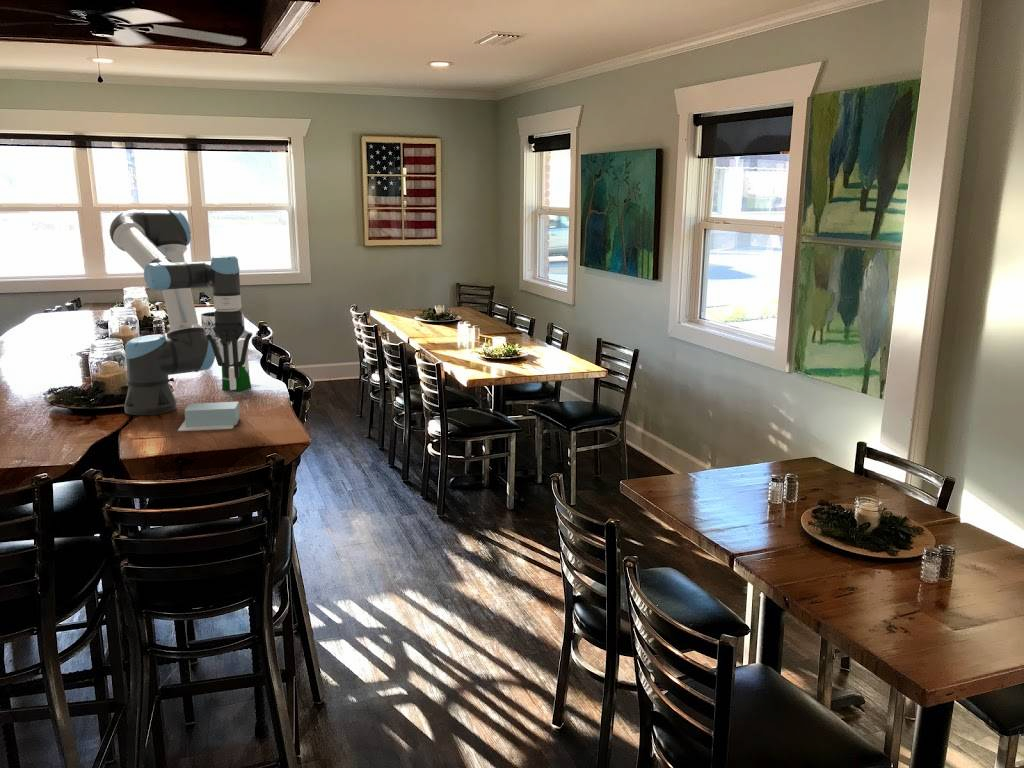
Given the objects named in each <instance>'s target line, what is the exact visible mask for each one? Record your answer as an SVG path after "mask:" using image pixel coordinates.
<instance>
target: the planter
mask: <svg viewBox="0 0 1024 768" xmlns="http://www.w3.org/2000/svg"><path fill="white" fill-rule="evenodd" d="M214 312H215V311H212V312H210V311H208V312H203V313H201V314H200V320H201V326H202V327H203V328H204V330H205V334H208V333H211V332H213V331H214V327H215V314H214ZM242 324H243V326H244V328H245V316H244V312H242ZM245 329H246V328H245ZM215 335H216V334H215ZM243 336H244V334H243V333H242V335H241V336H240V338H244V337H243ZM215 340H216V342H217V345H218V341H217V340H220V338H219V337H218V336H217V335H216V338H215ZM218 348H219V345H218ZM219 351H220V348H219Z"/></svg>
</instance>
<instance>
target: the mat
mask: <svg viewBox="0 0 1024 768" xmlns="http://www.w3.org/2000/svg"><path fill="white" fill-rule="evenodd" d="M234 427H235V425H227V426H205V427H186V423H185V420H183V422H182V423H181V424H180V427H179V428H178V430H177V432H189V431H211V430H212V431H215V430H230V429H231V430H232V429H234Z"/></svg>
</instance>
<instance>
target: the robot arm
mask: <svg viewBox="0 0 1024 768" xmlns="http://www.w3.org/2000/svg"><path fill="white" fill-rule="evenodd" d="M190 227H191V226H190V224H189V222H188V219H187V218H186V216H185V215H184V214H183V213H182V212H181V211H179V210H172V209H171V210H169V209H130V210H126V211H125V210H124V212H121V213H120V214H118V215H117V216H116V217H115V218H114V219H113V220H112V222H111V223H110V228H109V237H110V240H111V241H112V243H113V244H114V245H115V247H117V249H119V250H120V251H123V252H126V253H127V254H128V255H129V256H130V257H131V258H132V259H133V260H134V261H135V263H136V264H137V265H138V266H140V268H141V269H142V270H143V279H144V282H145V284H146V287H147V288H148V289H150V290H152V291H157V290H159V291H162V294H163V300H164V305H165V309H166V314H167V317H168V323H169V326H170V327H169V330H168V331H167V333H166V337H165V335H163V334H161V333H159V334H158V333H157V334H156V333H155V334H152V335H151V334H147V335H141V336H138V337H134V338H132V339H130V340H128V341H127V342H126V344H125V346H124V347H125V348H124V349H125V350H124V353H125V355H124V358H125V364H126V375H127V383H128V385H127V386H128V389H127V392H126V393H127V394H126V397H125V401H124V406H123V409H124V413H125V414H127V415H130V416H131V415H132V416H152V415H153V416H154V415H161V414H166V413H169V412H173V411H175V410H176V409H177V408H178V406H177V400H176V397H175V395H174V393H173V391H172V388H171V387H170V384H169V376H172V375H181V374H187V373H198V372H202V371H207V370H210V368H212V366H213V365H214V362H215V361H216V362H217V366H219V367H221V366H222V367H224V368H225V377H226V378H229V381H230V390H235V389H236V378H239V366H242V365H244V363H245V360H246V355H247V349H248V350H249V345H250V340H251V338H252V337H253V332H250V331H248V330H246V328H244V327H245V325H244V326H243V324H242V313H243V312H242V310H241V309H242V297H241V280H240V278H241V277H240V266H239V260H238V258H237V256H234V255H214V256H211V259H210V260H201V261H189V262H186V261H185V255H184V254H185V253H186V251H187V249H188V245H190V243H191V241H192V240H191V239H192V236H191V234H192V233H191V228H190ZM197 288H199V289H200V288H212V297H213V309H215V311H213V312H214V314H215V327H214V331H213V332H211V333H208V334H205V330H204V328H203V327H202V325H200V324H199V321H198V317H197V311H196V307H195V303H194V298H193V297H194V296H193V293H192V290H191V289H197ZM242 333H243V334H244V336H243V337H244V338H245V340H244V344H243V349H242V355H241V360H240V361H239V359H238V341H237V340H238V339H239V338H240V336H241V335H242ZM215 334H216V335H217V336H218V337H219V338H220V339H221V340H222V342H223V353H224V362H223V360H222V357H221V353H220V351H219V348H218V345H217V342H216V340H215V338H216V335H215ZM228 341H232V349H233V364H234V366H233V367H230V361H229V346H228ZM248 344H249V345H248ZM222 367H221V368H222Z"/></svg>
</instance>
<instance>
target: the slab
mask: <svg viewBox="0 0 1024 768" xmlns="http://www.w3.org/2000/svg"><path fill="white" fill-rule="evenodd" d="M240 417H241V416H240V403H239V401H222V402H219V401H217V402H199V403H198V402H195V403H194V402H192V403H189V404H188V405H187V407H186V408H185V409H184V418H185V419H184V421H185V423H186V427H205V426H227V425H234V426H237V424H238V423H239V420H240Z"/></svg>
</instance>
